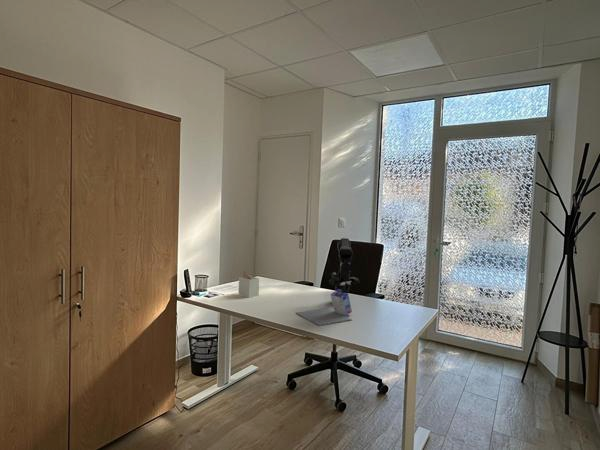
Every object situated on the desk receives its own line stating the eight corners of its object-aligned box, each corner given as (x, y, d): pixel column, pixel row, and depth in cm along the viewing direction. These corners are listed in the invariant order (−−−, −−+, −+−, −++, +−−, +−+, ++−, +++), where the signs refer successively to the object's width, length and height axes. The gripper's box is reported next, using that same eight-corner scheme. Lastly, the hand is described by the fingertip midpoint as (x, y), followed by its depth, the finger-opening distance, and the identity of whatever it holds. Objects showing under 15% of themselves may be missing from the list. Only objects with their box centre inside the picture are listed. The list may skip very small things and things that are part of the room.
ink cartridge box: (352, 311, 207) (347, 289, 202) (346, 316, 203) (341, 294, 199) (340, 307, 214) (334, 286, 210) (334, 312, 211) (328, 291, 206)
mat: (326, 308, 217) (326, 307, 217) (351, 320, 197) (351, 319, 197) (295, 313, 206) (295, 312, 206) (319, 326, 185) (319, 324, 185)
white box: (247, 293, 251) (248, 270, 250) (258, 296, 244) (259, 272, 243) (238, 295, 244) (238, 271, 243) (249, 298, 237) (249, 273, 236)
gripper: (348, 266, 219) (347, 291, 220) (323, 268, 209) (322, 294, 210) (360, 269, 210) (359, 295, 210) (335, 271, 200) (334, 298, 201)
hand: (343, 295), depth 208 cm, fingers closed
